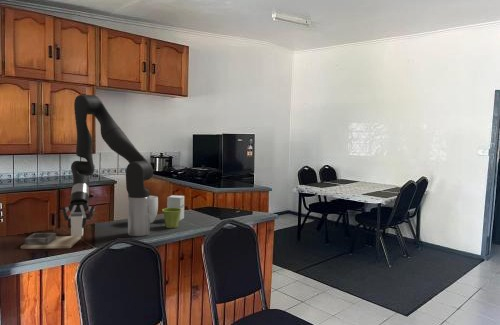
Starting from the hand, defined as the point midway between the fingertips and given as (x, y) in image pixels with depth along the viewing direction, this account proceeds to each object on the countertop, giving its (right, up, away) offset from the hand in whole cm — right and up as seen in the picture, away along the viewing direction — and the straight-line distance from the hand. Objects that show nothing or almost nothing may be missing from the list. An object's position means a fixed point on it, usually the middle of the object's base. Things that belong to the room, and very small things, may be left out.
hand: (76, 227), depth 165 cm
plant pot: (+37, -4, +22) cm, 43 cm away
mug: (+22, -3, +29) cm, 37 cm away
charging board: (-5, -5, -11) cm, 13 cm away
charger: (-1, -4, +2) cm, 5 cm away
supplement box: (+36, -3, +38) cm, 52 cm away
